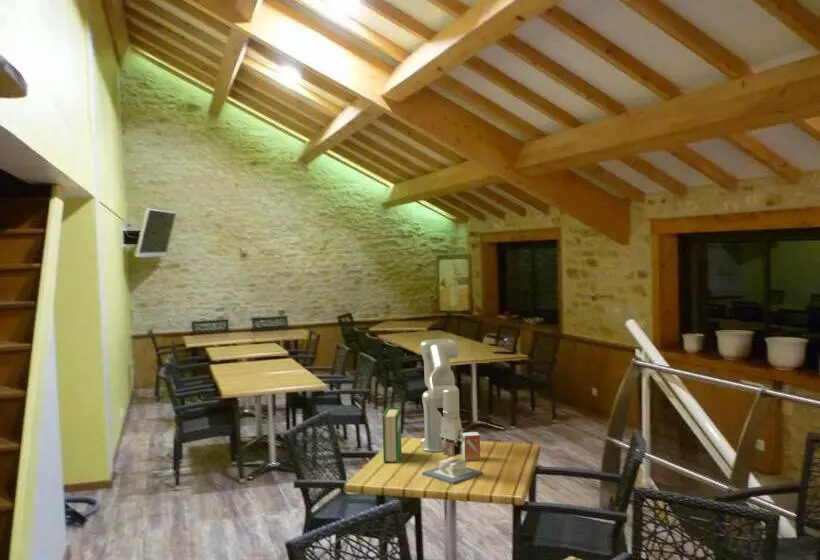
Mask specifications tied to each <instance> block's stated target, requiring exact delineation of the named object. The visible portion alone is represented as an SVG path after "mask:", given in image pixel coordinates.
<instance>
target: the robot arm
mask: <svg viewBox="0 0 820 560" xmlns="http://www.w3.org/2000/svg"><path fill="white" fill-rule="evenodd" d="M419 351H420V354H421V356H422V359H423V367H424V369H423V372H424V374H423V375H424V384H425V386H426V388H427V389H428V390H425V391H424V392H423V393H422V395H421V401H422V407H423V417H424V418H423V419H424V420H423V422H424V425H423V426H424V438H421V440H420V443H422V444H423V445H422V446H421V450H423V451H424V452H428V453H437V452H443V442H444V441H447V440H453V441H454V442H455V455H456V456H458V455H457V454H460V445H461V446H462V443H463V441H464V440H465V439H464V437H463V436H462V433H463V427H462V420H461V418H460V391H459V390H460V388H458V386H457V385H456V384H455V383H456V381H455V375H454V372H453V370H452V369H451V367H452V366H451V363H450V359H457V358H458V357H459V353H460V350H459V346H458V343H456V341H455V340H453V339H451V338H444V339H442V338H441V339H436V338H435V339H426V340H422V341H421V342H420V345H419ZM441 408H442V414H441V412H440V411H439V410H438V409H441ZM457 441H458V443H457ZM460 455H461V454H460Z"/></svg>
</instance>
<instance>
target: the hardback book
mask: <svg viewBox="0 0 820 560" xmlns="http://www.w3.org/2000/svg"><path fill="white" fill-rule="evenodd" d="M401 415H402V414H401V407H386V408H385V410H384V411H383V414H382V446H383V447H382V449H383V451H382V452H383V456H382V457H383V463H384V462H386V463H387V462H396V463H397V462H399V463H400V460H401V456H400V455H402V422H401V421H402V420H401V418H402V417H401Z"/></svg>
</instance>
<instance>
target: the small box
mask: <svg viewBox="0 0 820 560" xmlns="http://www.w3.org/2000/svg"><path fill="white" fill-rule="evenodd" d="M462 436H463V437H464V439H465V440H464V441H463V443H462V444H461V457H462V460H464V461H466V462H472V461H473V462H475V461H476V462H477V461H481V435H480V434H479V432H478V431H473V432H472V431H471V432H462Z"/></svg>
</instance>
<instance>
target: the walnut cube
mask: <svg viewBox="0 0 820 560" xmlns="http://www.w3.org/2000/svg"><path fill="white" fill-rule="evenodd" d="M457 443H458V441H457ZM442 455H444V456H448V457H450V458H451V457H453V458H454V457H456V456H459V455H462V444H461V445H460V454H457V455H455V442H454V441H453V440H447V441H444V442H443V451H442Z"/></svg>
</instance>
